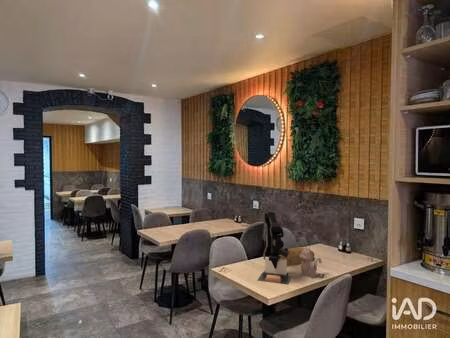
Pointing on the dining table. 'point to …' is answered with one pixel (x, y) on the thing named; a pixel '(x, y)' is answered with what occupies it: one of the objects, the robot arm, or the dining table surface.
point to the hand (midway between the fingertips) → (275, 268)
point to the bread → (294, 256)
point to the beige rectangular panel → (279, 269)
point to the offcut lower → (273, 281)
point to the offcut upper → (273, 277)
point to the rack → (285, 278)
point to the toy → (308, 263)
